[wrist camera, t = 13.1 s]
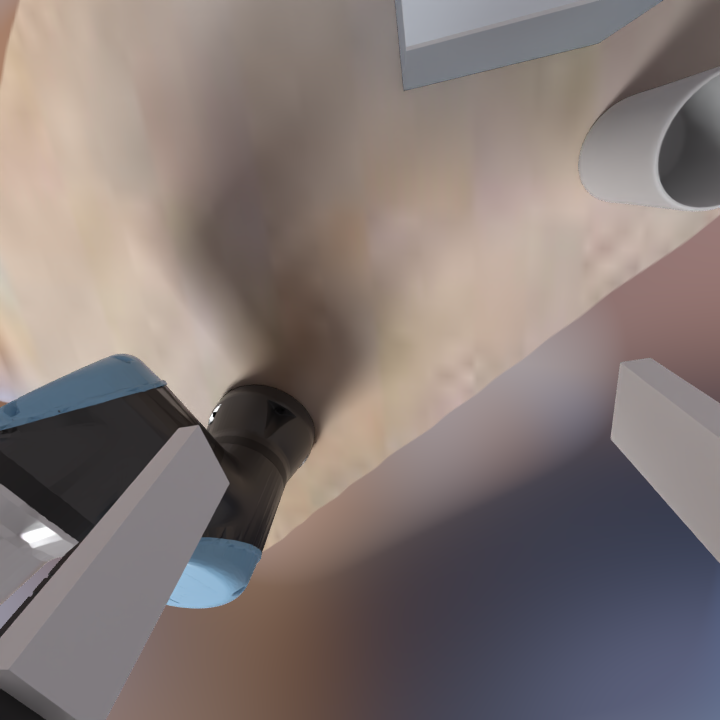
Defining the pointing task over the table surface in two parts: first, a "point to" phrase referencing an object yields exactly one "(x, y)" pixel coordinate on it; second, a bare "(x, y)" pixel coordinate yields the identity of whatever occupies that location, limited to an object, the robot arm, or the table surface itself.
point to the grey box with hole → (499, 32)
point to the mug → (658, 147)
